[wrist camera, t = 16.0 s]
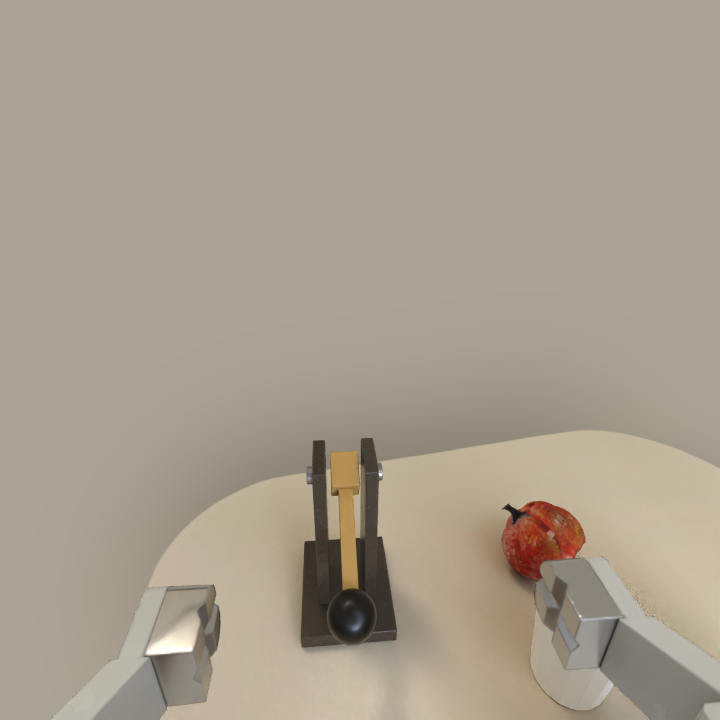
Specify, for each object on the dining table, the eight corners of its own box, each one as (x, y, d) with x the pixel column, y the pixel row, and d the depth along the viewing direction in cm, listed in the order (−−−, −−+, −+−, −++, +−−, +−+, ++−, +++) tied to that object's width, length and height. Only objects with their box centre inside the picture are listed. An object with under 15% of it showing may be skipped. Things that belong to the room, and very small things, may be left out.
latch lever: (376, 644, 31) (381, 642, 28) (327, 647, 31) (327, 646, 28) (363, 463, 38) (365, 447, 35) (323, 465, 38) (322, 449, 35)
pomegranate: (565, 562, 48) (501, 488, 49) (625, 550, 42) (550, 466, 44) (538, 618, 43) (467, 533, 44) (601, 612, 37) (518, 516, 39)
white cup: (578, 622, 39) (596, 566, 36) (636, 709, 33) (664, 651, 30) (506, 637, 38) (519, 581, 35) (553, 730, 32) (573, 673, 29)
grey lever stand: (396, 640, 38) (405, 497, 31) (301, 647, 37) (289, 504, 30) (381, 545, 47) (386, 418, 40) (305, 550, 46) (296, 422, 39)
